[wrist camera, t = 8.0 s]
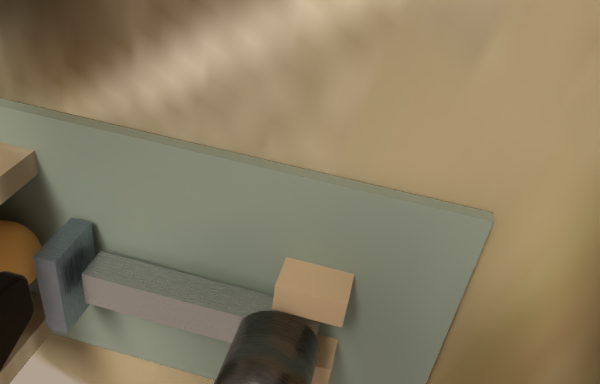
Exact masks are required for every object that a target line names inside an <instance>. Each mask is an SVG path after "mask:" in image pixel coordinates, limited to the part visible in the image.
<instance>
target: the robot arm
mask: <svg viewBox="0 0 600 384" xmlns="http://www.w3.org/2000/svg"><path fill="white" fill-rule="evenodd" d="M33 311H34V303H33V299H32V295H31V291H30V287H29V283H28V280H27V278H26V277H25V276H24V275H21V274H17V273H13V272H9V271H2V272H0V371H1V370H2V368H3V366H4V364H5V363H6V361H7V359H8V358H9V356H10V354H11V352H12V351H13V349H14V347H15V346H16V344H17V342H18V340H19V339H20V337H21V335H22V334H23V332H24V330H25V328H26V327H27V325H28V323H29V321H30V320H31V318H32V315H33Z"/></svg>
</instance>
